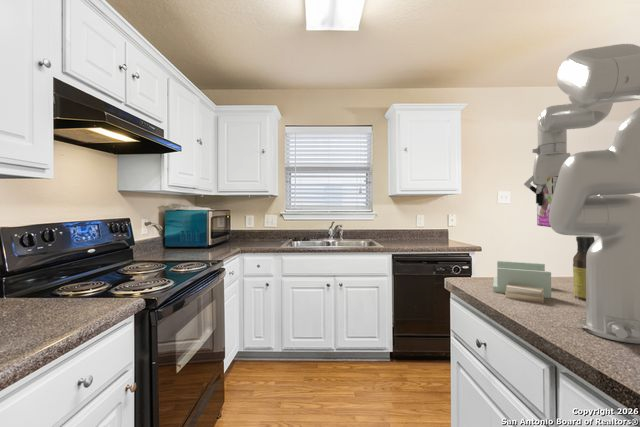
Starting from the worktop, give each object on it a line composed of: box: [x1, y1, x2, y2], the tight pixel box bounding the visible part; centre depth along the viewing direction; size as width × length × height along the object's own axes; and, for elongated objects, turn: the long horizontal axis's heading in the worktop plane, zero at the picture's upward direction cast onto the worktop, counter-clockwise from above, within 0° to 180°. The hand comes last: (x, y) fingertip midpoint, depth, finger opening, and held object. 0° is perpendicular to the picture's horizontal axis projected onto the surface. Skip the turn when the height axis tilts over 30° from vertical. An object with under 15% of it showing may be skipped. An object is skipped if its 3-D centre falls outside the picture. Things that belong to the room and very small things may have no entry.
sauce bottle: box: [572, 236, 596, 302], centre depth 88 cm, size 6×6×20 cm
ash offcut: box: [506, 284, 544, 298], centre depth 90 cm, size 4×9×2 cm, turn 46°
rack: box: [492, 260, 552, 299], centre depth 100 cm, size 16×15×9 cm
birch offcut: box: [504, 292, 545, 304], centre depth 90 cm, size 5×9×2 cm, turn 52°
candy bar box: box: [535, 176, 558, 228], centre depth 98 cm, size 11×5×16 cm, turn 166°
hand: (552, 205), depth 98 cm, fingers closed on candy bar box, 5 cm apart
